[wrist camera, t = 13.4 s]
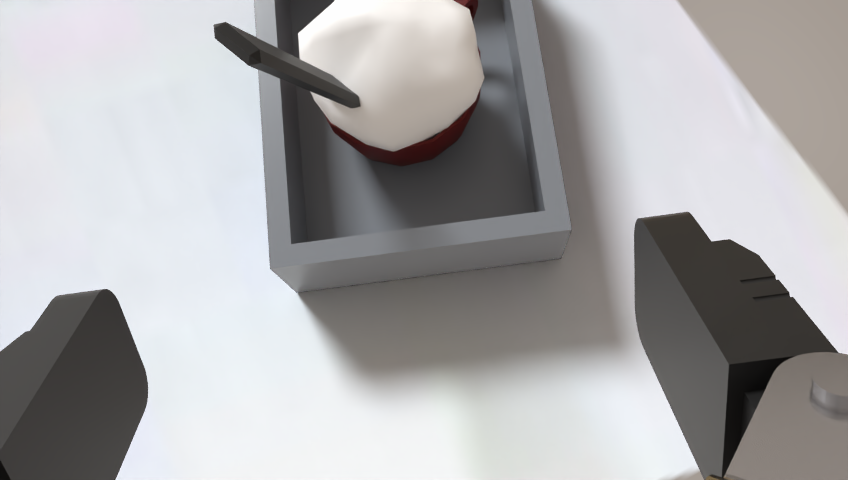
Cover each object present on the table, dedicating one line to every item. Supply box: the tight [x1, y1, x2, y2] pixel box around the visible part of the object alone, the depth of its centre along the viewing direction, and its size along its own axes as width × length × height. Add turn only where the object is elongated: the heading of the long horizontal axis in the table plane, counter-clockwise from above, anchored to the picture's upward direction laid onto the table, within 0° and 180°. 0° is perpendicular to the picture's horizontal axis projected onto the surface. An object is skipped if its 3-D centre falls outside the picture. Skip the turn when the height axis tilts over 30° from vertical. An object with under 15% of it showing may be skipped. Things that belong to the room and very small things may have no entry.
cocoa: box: [214, 0, 484, 166], centre depth 26 cm, size 10×6×12 cm, turn 117°
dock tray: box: [254, 0, 572, 293], centre depth 31 cm, size 11×14×4 cm
